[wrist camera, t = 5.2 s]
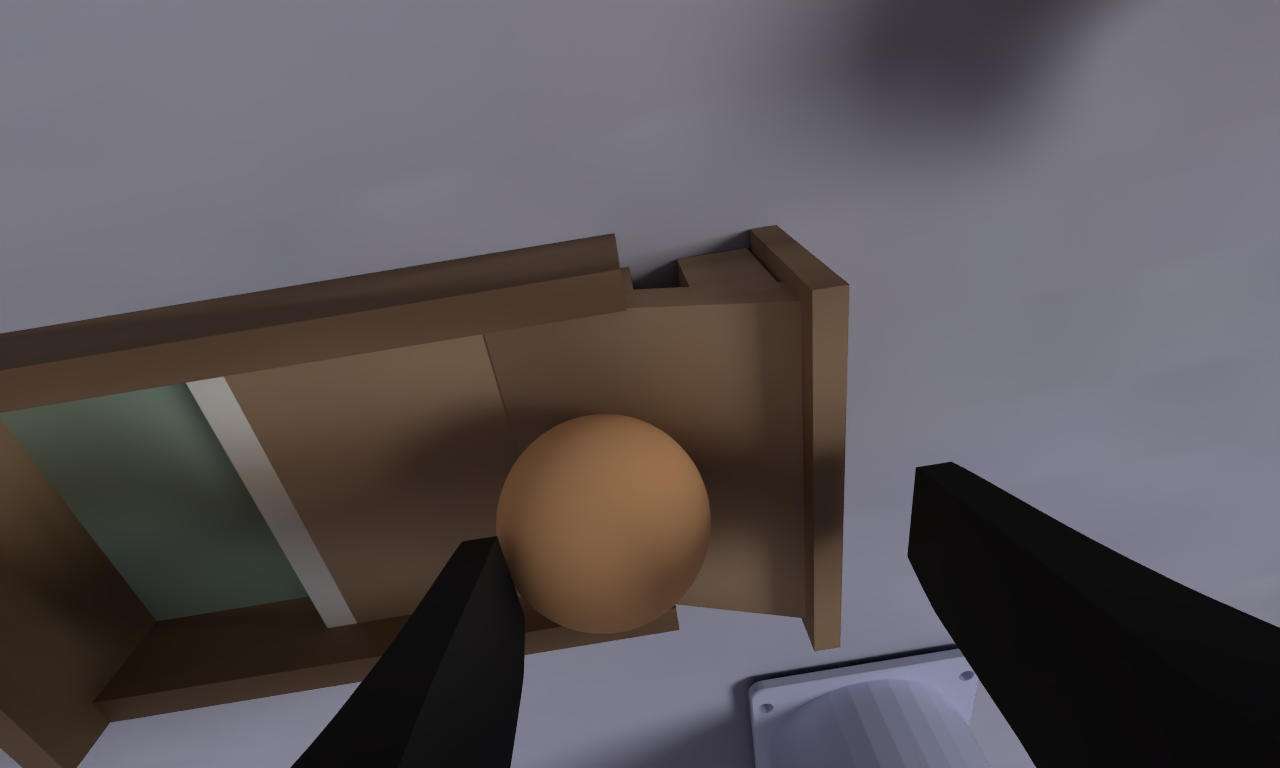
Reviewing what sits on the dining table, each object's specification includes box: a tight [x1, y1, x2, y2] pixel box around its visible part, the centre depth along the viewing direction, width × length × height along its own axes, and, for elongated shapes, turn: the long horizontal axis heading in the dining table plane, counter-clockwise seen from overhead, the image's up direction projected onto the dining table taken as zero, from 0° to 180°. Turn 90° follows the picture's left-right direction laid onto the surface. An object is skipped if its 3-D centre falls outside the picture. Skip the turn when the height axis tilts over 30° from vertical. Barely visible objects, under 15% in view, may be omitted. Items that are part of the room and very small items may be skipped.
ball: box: [496, 414, 711, 634], centre depth 11 cm, size 4×4×4 cm
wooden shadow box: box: [0, 225, 849, 768], centre depth 13 cm, size 10×19×4 cm, turn 98°
